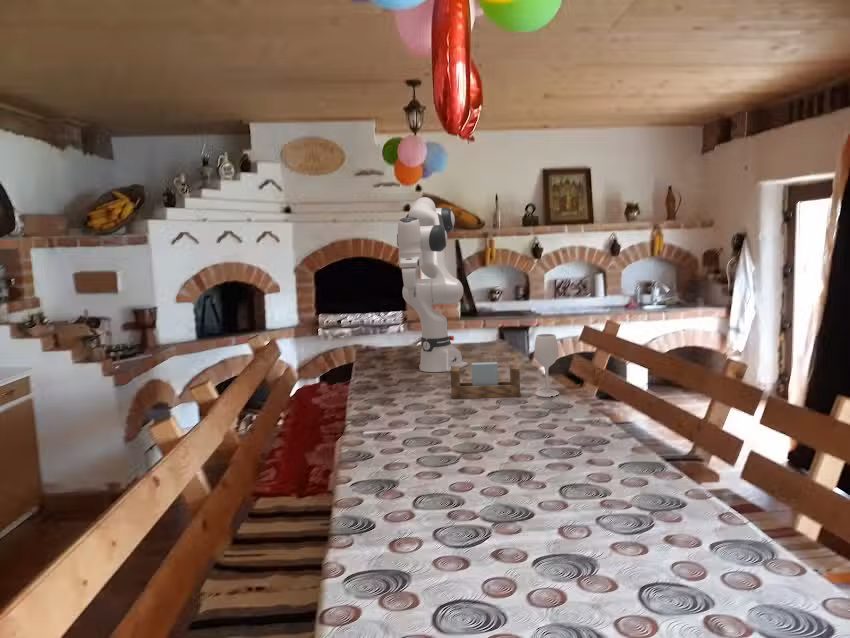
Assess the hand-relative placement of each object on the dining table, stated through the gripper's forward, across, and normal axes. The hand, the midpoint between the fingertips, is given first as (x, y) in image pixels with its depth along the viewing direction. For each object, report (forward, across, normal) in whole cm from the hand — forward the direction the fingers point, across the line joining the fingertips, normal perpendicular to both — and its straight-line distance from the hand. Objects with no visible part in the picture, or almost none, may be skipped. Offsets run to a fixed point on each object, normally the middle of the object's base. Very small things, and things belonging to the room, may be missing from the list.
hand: (412, 298), depth 244 cm
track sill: (+34, +14, +26) cm, 45 cm away
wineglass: (+34, +14, +47) cm, 60 cm away
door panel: (+33, +14, +26) cm, 44 cm away
